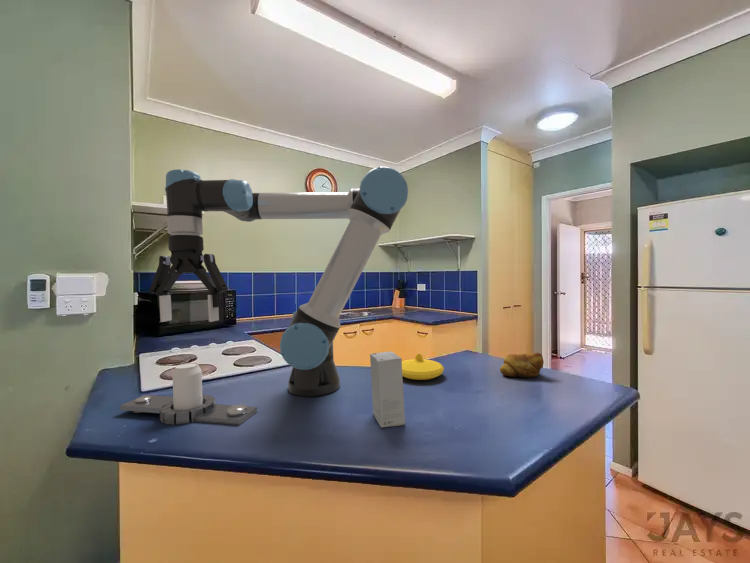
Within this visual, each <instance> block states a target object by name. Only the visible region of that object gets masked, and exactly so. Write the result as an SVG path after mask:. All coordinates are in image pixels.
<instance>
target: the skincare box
mask: <svg viewBox="0 0 750 563" xmlns="http://www.w3.org/2000/svg"><path fill="white" fill-rule="evenodd" d="M369 355H370V356H369V358H370V363H369V364H370V377H371V378H370V379H371V381H370V382H371V399H372V414H373V416H374V418H375V419H376V421H377V423H378V425H379V427H380V428H389V427H398V426H399V427H400V426H405V424H406V416H405V415H406V413H405V397H404V394H405V393H404V383H403V382H404V380H403V378H404V377H403V376H402V361H403V359H402V357H400V356H399V355H397V354H396V353H395V352H393V351H383V352H375V353H370V354H369Z"/></svg>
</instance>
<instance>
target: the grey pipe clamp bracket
mask: <svg viewBox="0 0 750 563" xmlns="http://www.w3.org/2000/svg"><path fill="white" fill-rule="evenodd" d="M202 398H203V404H202V405H201V406H199V407H196V408H192V409H188V410H181V411H178V410H174V403H173V396H170V395H168V396H167V395H154V394H144V395H142V396H139V397H137V398H134V399H133V400H130V401H127V402H125V403H122V404H120V408H119V409H120V411H128V412H132V413H133V414H135V415H136V414H138V415H139V414H143V413H151V414H159V420H160V422H161V423H162V424H164V425H177V426H178V425H182V424H189V423H190V422H191V423H193V422H199V423H210V424H222V425H224V424H225V425H232V426H233V425H234V426H240V425H242V424H243V423H244V422H246V421H247V420H248V419H250V418H251V417H253V416H254V415H255V414H256V413H258V407H257V406H247V404H236V405H232V404H218V403H217V404H216V397H214V396H212V395H210V394H209V395H208V394H202Z"/></svg>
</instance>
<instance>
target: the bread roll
mask: <svg viewBox="0 0 750 563" xmlns="http://www.w3.org/2000/svg"><path fill="white" fill-rule="evenodd" d="M544 363H545V362H544V358H543V355H542V354H541V353H539V352H534V353H533V352H532V353H529V354H527V353H518V354H514V353H510V354H507V355H506V356H505V357H504V359H503V364H501V366H500V368H499V370H500V374H502V375H503V376H504V377H505V376H506V377H509V378H518V377H521V378H523V379H524V378H525V379H526V378H527V379H531V378H536V377H538V376H539V375H540V371H541V369H542V368H544Z"/></svg>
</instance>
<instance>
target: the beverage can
mask: <svg viewBox="0 0 750 563" xmlns="http://www.w3.org/2000/svg"><path fill="white" fill-rule="evenodd" d="M202 372H203V371H202V369H201V367H200V366H199V362H185V363H180V364H178V365H176V366H175V369H174V371H173V373H172V397H173V403H174V410H178V411H181V410H188V409H192V408H196V407H199V406H201V405H202V404H203V398H202V395H203V376H202V375H203V374H202Z"/></svg>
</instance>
